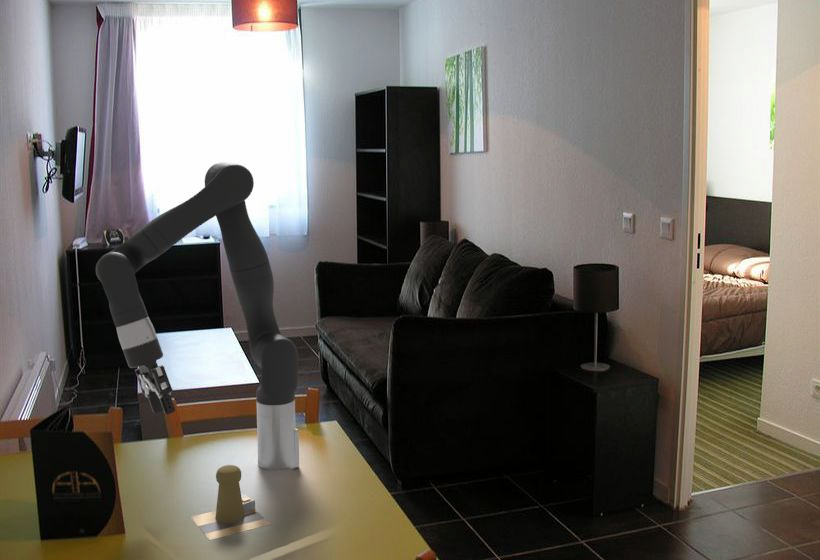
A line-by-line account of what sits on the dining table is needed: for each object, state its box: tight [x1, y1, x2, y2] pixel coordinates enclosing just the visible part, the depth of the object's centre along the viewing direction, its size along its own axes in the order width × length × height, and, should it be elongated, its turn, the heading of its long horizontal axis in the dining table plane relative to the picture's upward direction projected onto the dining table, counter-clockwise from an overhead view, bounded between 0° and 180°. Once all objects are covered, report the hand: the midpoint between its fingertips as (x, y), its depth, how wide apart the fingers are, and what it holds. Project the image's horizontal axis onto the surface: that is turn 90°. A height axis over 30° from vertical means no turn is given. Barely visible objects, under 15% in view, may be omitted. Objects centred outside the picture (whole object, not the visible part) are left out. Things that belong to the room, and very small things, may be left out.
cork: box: [215, 464, 245, 524], centre depth 174 cm, size 6×6×11 cm
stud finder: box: [241, 492, 256, 513], centre depth 179 cm, size 3×5×2 cm, turn 43°
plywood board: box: [190, 508, 272, 541], centre depth 173 cm, size 13×12×1 cm
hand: (164, 412), depth 180 cm, fingers open, 8 cm apart
